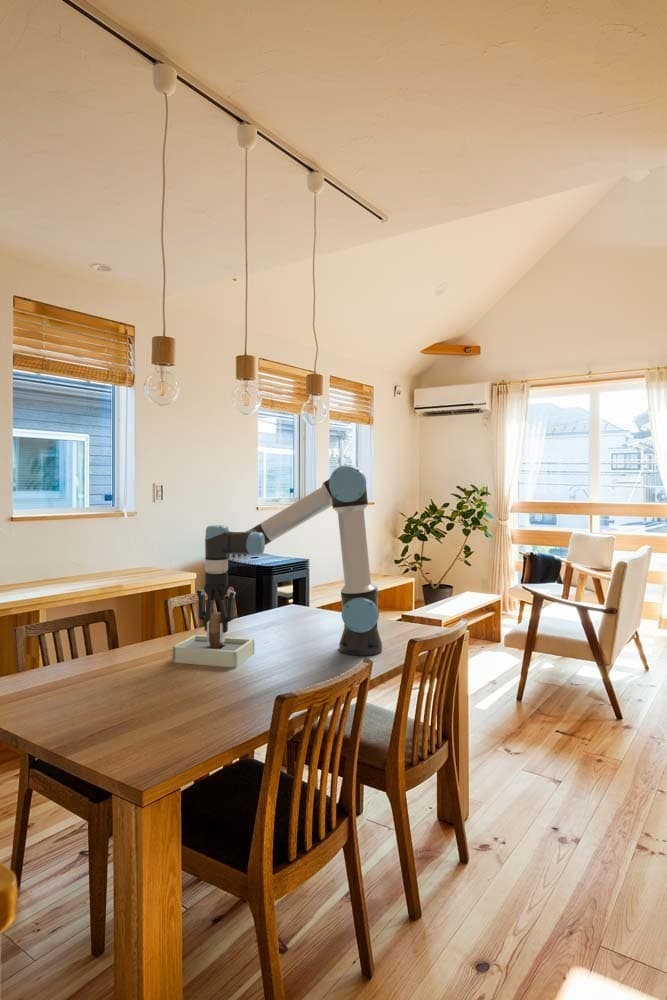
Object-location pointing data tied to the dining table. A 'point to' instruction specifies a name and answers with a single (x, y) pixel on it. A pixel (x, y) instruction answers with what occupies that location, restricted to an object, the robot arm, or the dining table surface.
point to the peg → (215, 630)
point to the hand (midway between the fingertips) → (216, 641)
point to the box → (213, 652)
